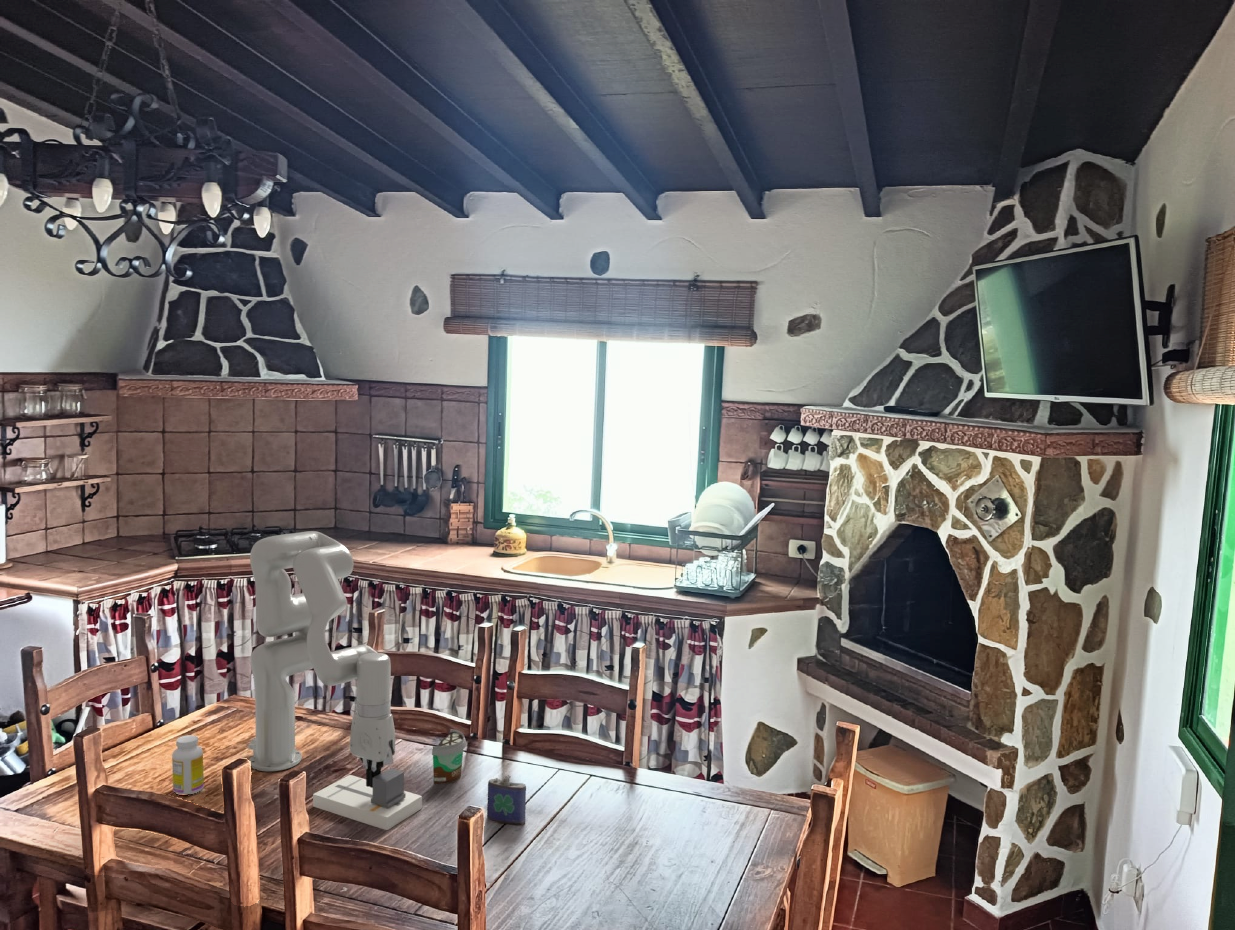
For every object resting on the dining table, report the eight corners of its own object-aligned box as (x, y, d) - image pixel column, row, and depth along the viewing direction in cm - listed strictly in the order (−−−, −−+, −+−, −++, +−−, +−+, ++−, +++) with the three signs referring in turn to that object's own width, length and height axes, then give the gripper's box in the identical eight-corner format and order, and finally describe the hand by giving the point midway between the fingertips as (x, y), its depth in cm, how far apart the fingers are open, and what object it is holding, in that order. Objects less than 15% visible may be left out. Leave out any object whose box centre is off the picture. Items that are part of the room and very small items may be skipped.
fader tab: (370, 802, 212) (370, 777, 211) (388, 792, 217) (388, 767, 217) (388, 808, 210) (388, 782, 209) (405, 797, 215) (405, 772, 214)
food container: (455, 789, 227) (455, 749, 226) (431, 786, 228) (431, 747, 227) (472, 768, 239) (473, 730, 238) (450, 765, 240) (450, 728, 239)
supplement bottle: (205, 783, 226) (204, 732, 225) (202, 795, 220) (201, 742, 219) (175, 786, 224) (174, 734, 223) (170, 798, 218) (169, 745, 217)
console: (313, 806, 216) (313, 793, 216) (349, 786, 227) (349, 774, 226) (387, 830, 206) (387, 817, 206) (421, 808, 217) (421, 795, 217)
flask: (527, 821, 212) (527, 776, 211) (522, 827, 210) (523, 781, 208) (489, 814, 215) (490, 770, 214) (484, 820, 212) (484, 775, 211)
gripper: (337, 706, 213) (337, 783, 215) (387, 719, 206) (387, 798, 208) (360, 697, 220) (360, 771, 222) (410, 709, 213) (409, 786, 215)
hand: (373, 784), depth 215 cm, fingers closed
